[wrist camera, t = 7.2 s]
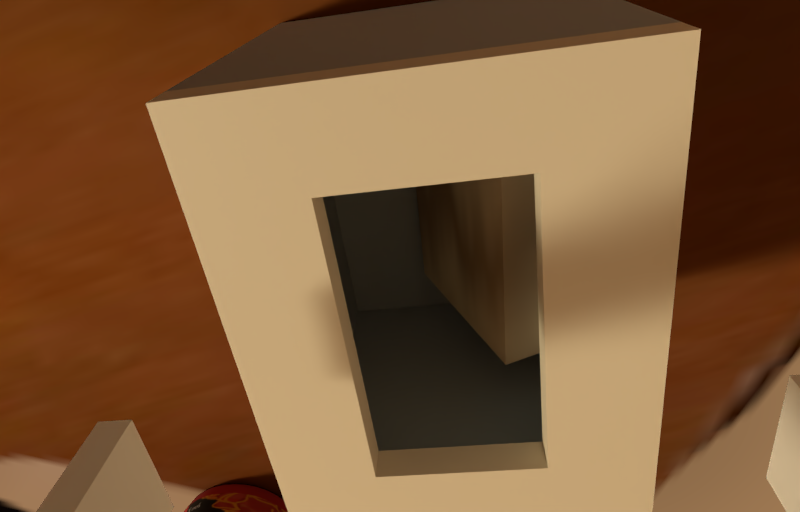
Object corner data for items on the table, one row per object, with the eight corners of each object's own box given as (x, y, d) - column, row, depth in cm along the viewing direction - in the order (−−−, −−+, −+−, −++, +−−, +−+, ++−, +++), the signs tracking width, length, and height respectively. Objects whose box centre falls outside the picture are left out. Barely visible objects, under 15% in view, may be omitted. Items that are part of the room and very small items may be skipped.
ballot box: (280, 22, 23) (145, 103, 12) (571, -20, 21) (701, 29, 11) (346, 319, 29) (296, 535, 19) (571, 300, 28) (651, 520, 18)
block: (408, 115, 22) (501, 169, 16) (479, 100, 23) (591, 147, 17) (424, 273, 26) (505, 364, 20) (485, 255, 26) (580, 338, 21)
